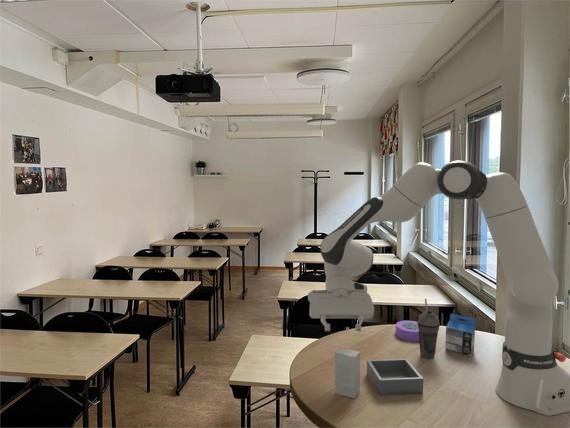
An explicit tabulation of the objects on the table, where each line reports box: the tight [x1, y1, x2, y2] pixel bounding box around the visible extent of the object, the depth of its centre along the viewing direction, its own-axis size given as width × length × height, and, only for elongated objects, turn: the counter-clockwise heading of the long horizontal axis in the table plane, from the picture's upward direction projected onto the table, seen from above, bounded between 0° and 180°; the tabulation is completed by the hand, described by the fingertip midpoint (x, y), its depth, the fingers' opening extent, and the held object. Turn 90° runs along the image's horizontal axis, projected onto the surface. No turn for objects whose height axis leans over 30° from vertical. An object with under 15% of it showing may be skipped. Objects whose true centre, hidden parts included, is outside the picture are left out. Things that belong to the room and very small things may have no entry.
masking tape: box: [395, 320, 419, 342], centre depth 158 cm, size 12×12×4 cm
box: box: [366, 358, 425, 397], centre depth 120 cm, size 13×13×4 cm
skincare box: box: [334, 347, 361, 399], centre depth 115 cm, size 6×4×12 cm
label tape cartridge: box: [445, 313, 476, 357], centre depth 142 cm, size 9×4×12 cm, turn 49°
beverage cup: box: [416, 298, 441, 360], centre depth 138 cm, size 7×7×20 cm
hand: (343, 330), depth 123 cm, fingers open, 8 cm apart
